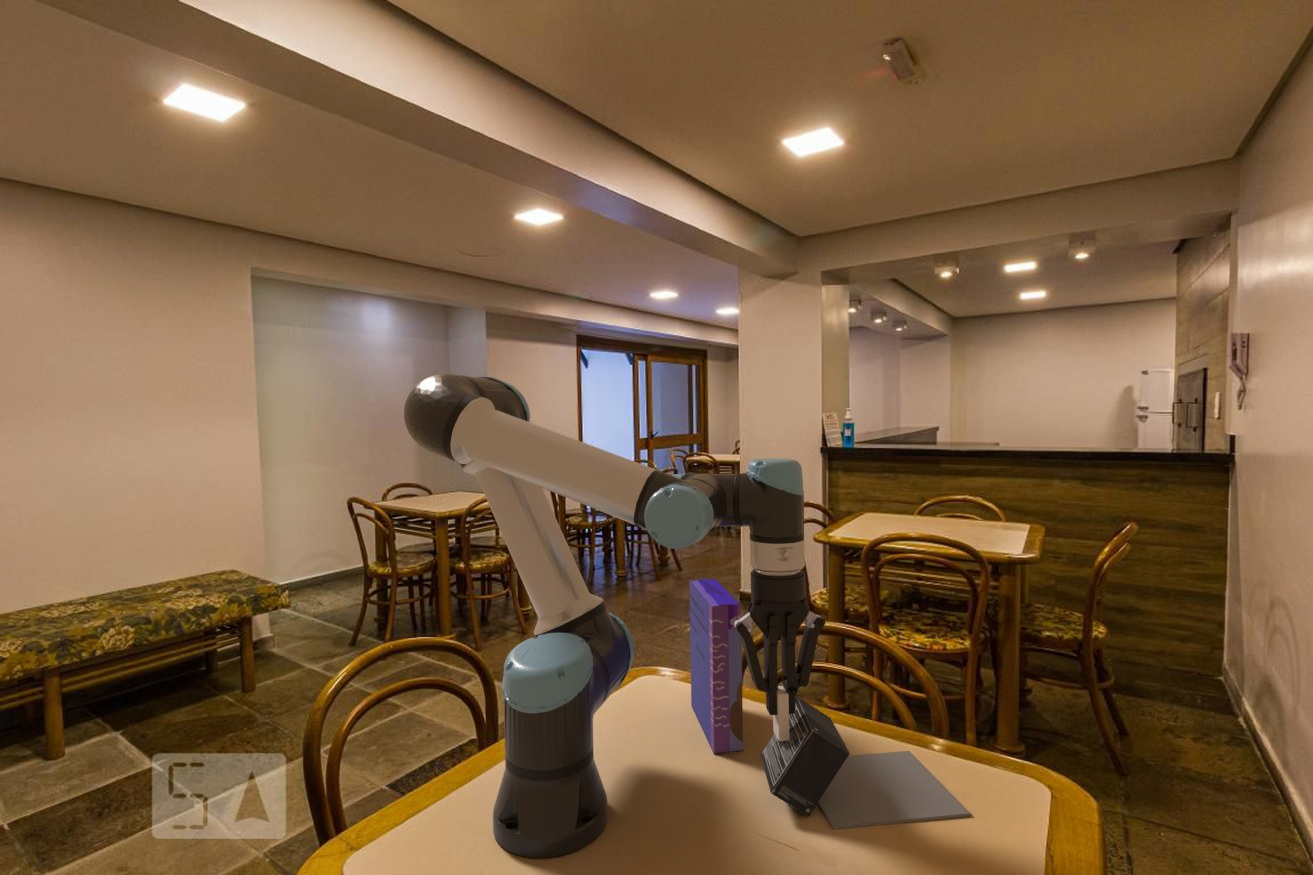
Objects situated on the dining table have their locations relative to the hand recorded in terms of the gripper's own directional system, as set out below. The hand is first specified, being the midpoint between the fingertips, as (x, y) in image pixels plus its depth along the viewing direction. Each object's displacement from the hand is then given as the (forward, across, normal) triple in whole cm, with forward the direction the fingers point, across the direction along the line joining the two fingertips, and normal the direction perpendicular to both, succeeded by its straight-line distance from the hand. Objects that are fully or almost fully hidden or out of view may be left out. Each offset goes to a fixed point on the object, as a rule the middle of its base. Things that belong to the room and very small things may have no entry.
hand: (781, 735), depth 89 cm
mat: (+9, +14, 0) cm, 16 cm away
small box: (+7, 0, 0) cm, 7 cm away
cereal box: (+9, -5, +21) cm, 24 cm away
